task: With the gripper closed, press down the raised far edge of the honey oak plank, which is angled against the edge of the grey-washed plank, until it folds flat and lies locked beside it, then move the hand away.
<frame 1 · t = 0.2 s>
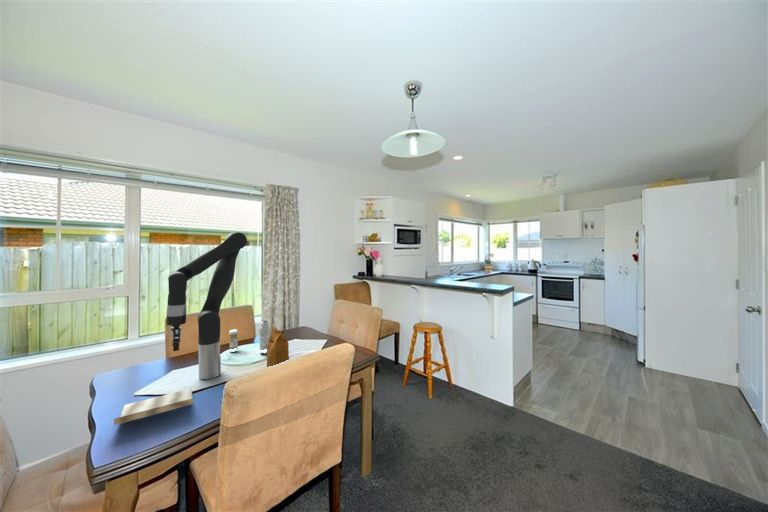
hand: (175, 348, 131), 17 cm above the table, tool pointing down, fingers open, 8 cm apart
sprinkles bottle: (233, 351, 174), on the table
coffee package: (277, 369, 149), on the table
grey-washed plank: (159, 406, 113), on the table
honey oak plank: (157, 410, 104), point 4 cm above the table, hinge at 25.0°
plastic bottle: (265, 353, 171), on the table
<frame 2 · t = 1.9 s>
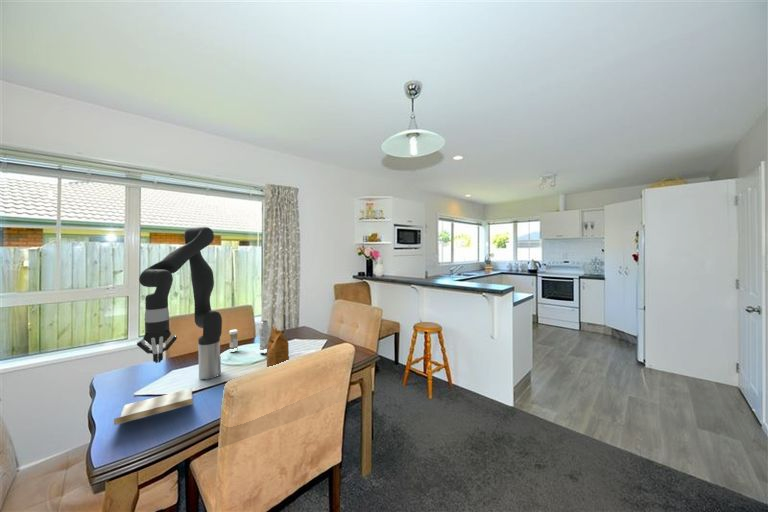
hand: (158, 362, 111), 19 cm above the table, tool pointing down, fingers closed
nothing on the table moved.
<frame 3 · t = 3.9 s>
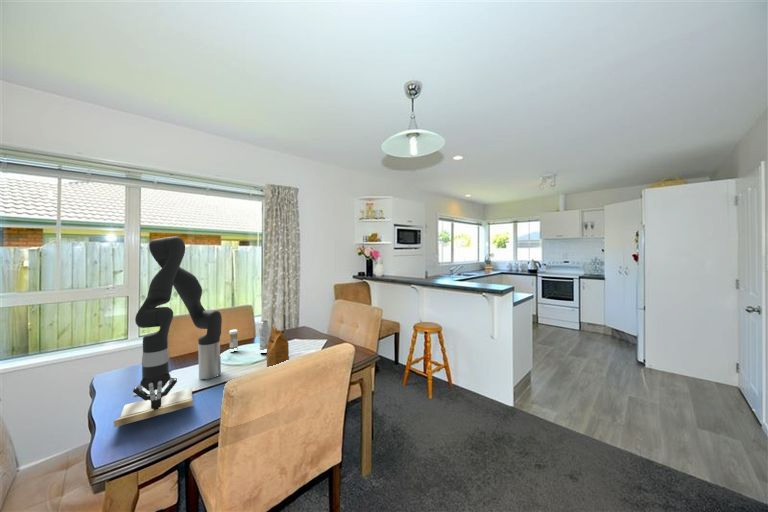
hand: (156, 408, 102), 6 cm above the table, tool pointing down, fingers closed
honey oak plank: (157, 411, 104), point 3 cm above the table, hinge at 22.0°, touching gripper
everything else where it was.
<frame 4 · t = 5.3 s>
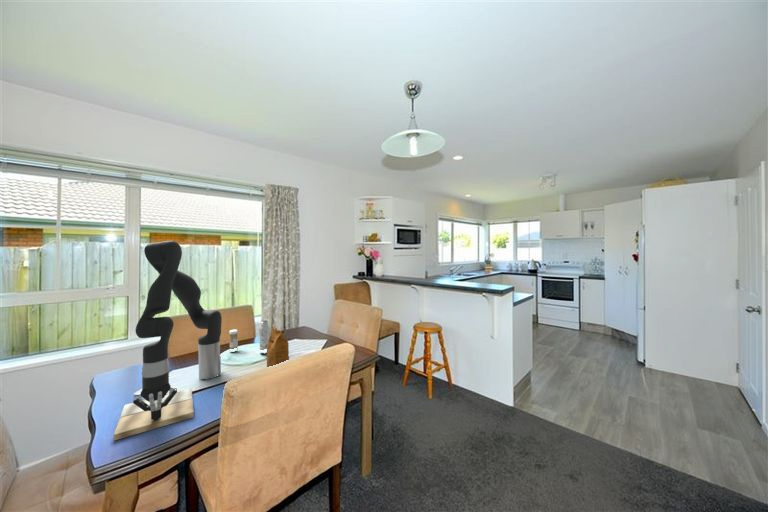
hand: (156, 419, 101), 2 cm above the table, tool pointing down, fingers closed
honey oak plank: (157, 417, 104), point 1 cm above the table, hinge at 1.0°, touching gripper
everything else where it was.
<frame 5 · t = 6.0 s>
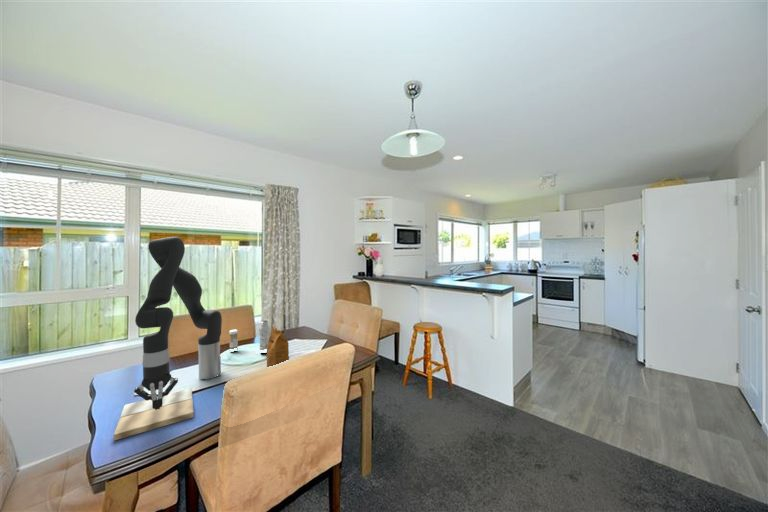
hand: (157, 408, 102), 6 cm above the table, tool pointing down, fingers closed
honey oak plank: (157, 417, 104), point 1 cm above the table, hinge at 1.0°
everything else where it was.
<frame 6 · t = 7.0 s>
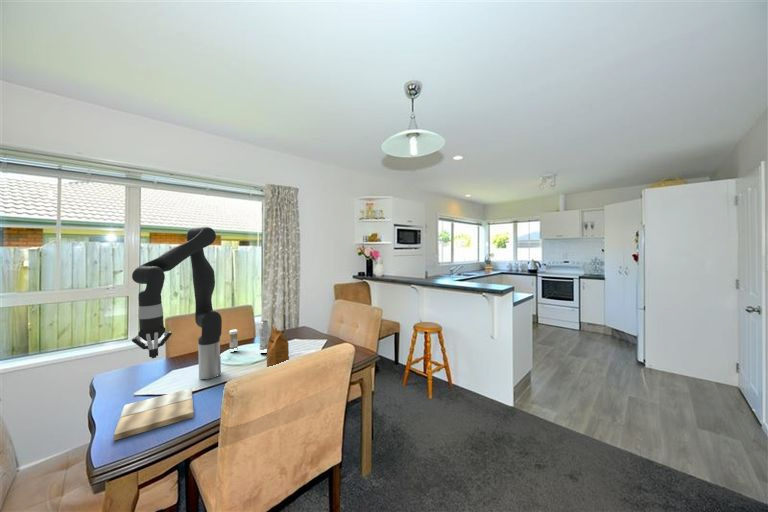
hand: (153, 357, 113), 20 cm above the table, tool pointing down, fingers closed
nothing on the table moved.
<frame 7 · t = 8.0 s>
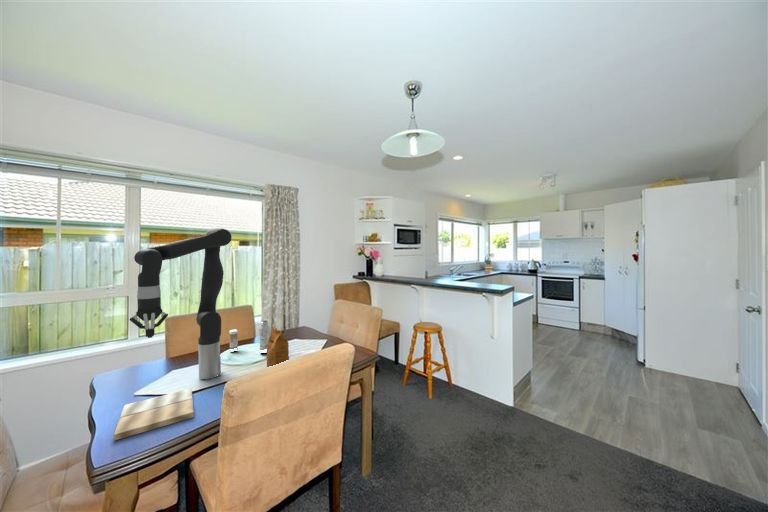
hand: (150, 337, 117), 27 cm above the table, tool pointing down, fingers closed
nothing on the table moved.
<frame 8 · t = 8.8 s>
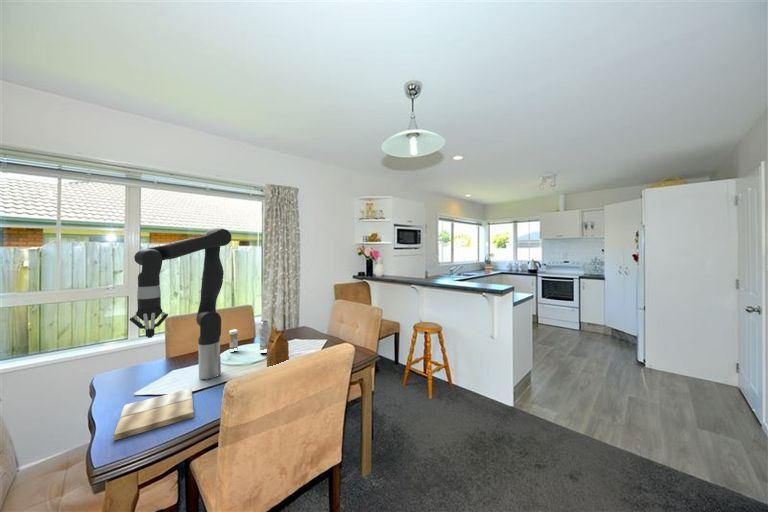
hand: (150, 337, 117), 27 cm above the table, tool pointing down, fingers closed
nothing on the table moved.
at the end: honey oak plank at +1° (first picture: +25°) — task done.
